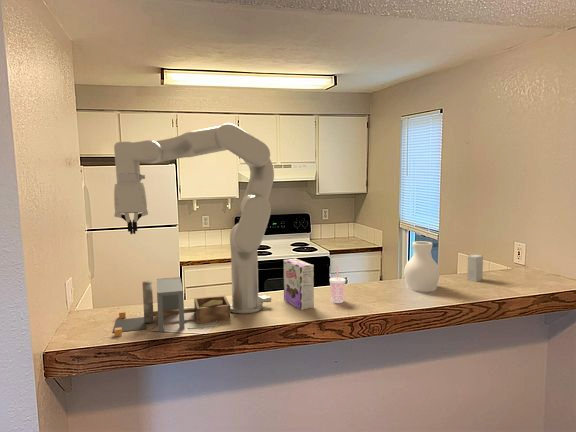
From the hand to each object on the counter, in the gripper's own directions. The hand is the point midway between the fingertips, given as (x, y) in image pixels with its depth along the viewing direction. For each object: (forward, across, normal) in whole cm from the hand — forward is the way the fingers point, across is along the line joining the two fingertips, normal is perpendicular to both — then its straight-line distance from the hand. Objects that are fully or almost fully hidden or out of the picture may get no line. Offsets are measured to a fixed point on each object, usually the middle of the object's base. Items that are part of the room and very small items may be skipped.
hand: (132, 233), depth 148 cm
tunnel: (+30, -10, +6) cm, 32 cm away
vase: (+33, -112, +4) cm, 116 cm away
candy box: (+32, -57, +5) cm, 65 cm away
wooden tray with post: (+30, -24, +7) cm, 39 cm away
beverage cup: (+32, -72, +7) cm, 79 cm away
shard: (+31, -23, +6) cm, 39 cm away
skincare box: (+34, -141, +1) cm, 145 cm away
